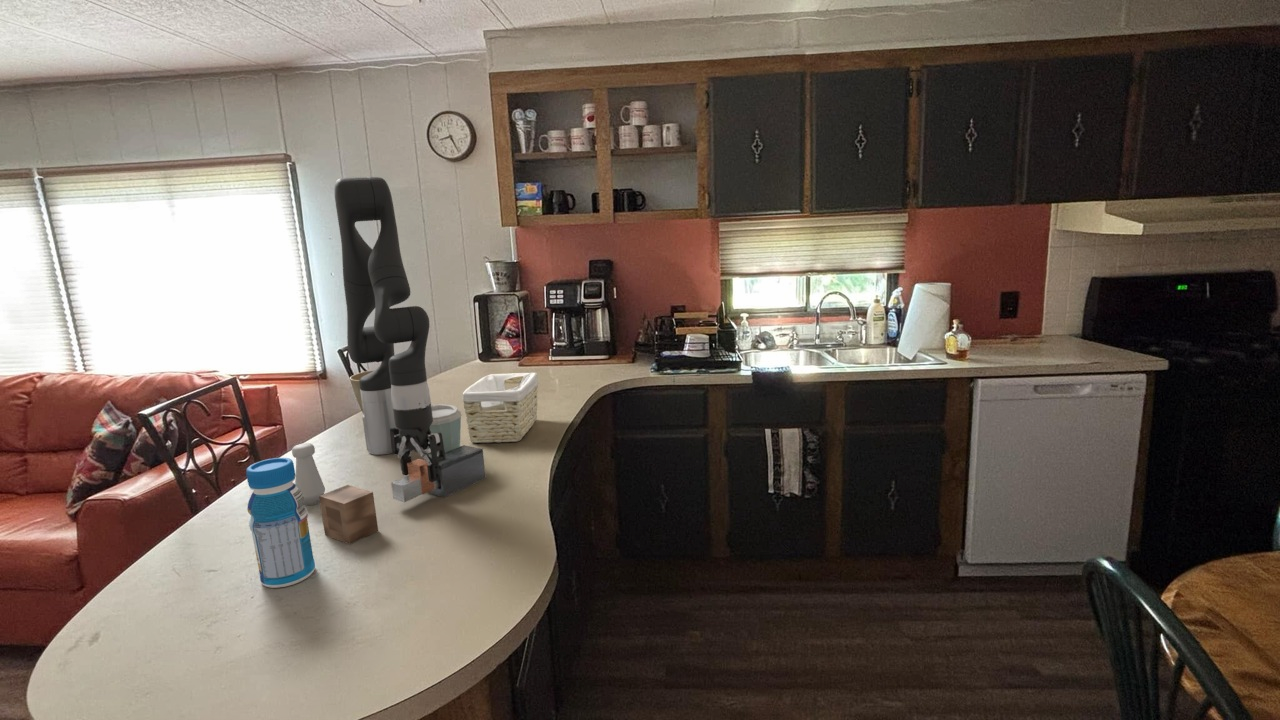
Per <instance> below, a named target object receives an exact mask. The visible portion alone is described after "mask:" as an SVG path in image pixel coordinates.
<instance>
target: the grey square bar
mask: <svg viewBox="0 0 1280 720" xmlns="http://www.w3.org/2000/svg"><path fill="white" fill-rule="evenodd" d="M427 465H428V464H427V462H426V461H425V459H422V458H417V459H415V460H414V459H413V460H412V462H409V463H407V466H408V473H409V475H406V476H405V477H402V478H400V479H397V480H395V481H393V482H391V483H390V485H391V493H392V499H393V500H395V501H398V502H402V503H406V502H409V501H411V500H413V499H416V498H417V497H419V496H422V495H425V494H429V493H428V492H430V491H432V490H434V489H436V488H438V487H440V486H441V482H440V477H439V480H437V481H434V482H430V481H429V477H428V469H427Z"/></svg>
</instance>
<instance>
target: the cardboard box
mask: <svg viewBox="0 0 1280 720" xmlns="http://www.w3.org/2000/svg"><path fill="white" fill-rule="evenodd" d="M319 500H320V502H319V503H320V504H319V506H320V512H321V518H322V524H323V530H324V535H325V536H327V537H330V538H332V539H335V540H336V541H337V540H338V541H341V542H343V543H346V544H348V545H352V544H353V543H356V542H358V541H360V540H362V539H364V538H367V537H368V536H371V535H373V534H375V533H377V532H378V531H379V525H378V518H377V512H376V511H377V510H376V503H375V498H374V492H373V491H370V490H368V489H363V488H360V487H356V486H353V485H350V484H347V485H344V486H341V487H338V488H336V489H333V490H331V491H329V492H326V493H325V492H324V494H323V495H320V496H319Z"/></svg>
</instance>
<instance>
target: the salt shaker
mask: <svg viewBox="0 0 1280 720" xmlns="http://www.w3.org/2000/svg"><path fill="white" fill-rule="evenodd" d="M291 453H292V454H291V455H292V457H294V458H296V459H295V480H294V481H295V483H294V484H295V485H296V486H297V487H298V488H299V489H300V490H301V492H302V493H303V495H304V502H303V505H304V506H305V507H306V506H314V505H316V504H319V503H320V500H319V496H320V495H323V494H325V492H326V487H325V484H324V482H323V479H322V477H321V475H320V472H319V470H318V468H317V465H316V462H315V459H314V457H313V455H314V454H315V453H316V447H315V445H314V444H312V443H309V442H305V443H299V444H297V445H294V446H293V447H292V449H291Z"/></svg>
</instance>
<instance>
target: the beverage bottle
mask: <svg viewBox="0 0 1280 720" xmlns="http://www.w3.org/2000/svg"><path fill="white" fill-rule="evenodd" d="M245 470H246V474H245V475H246V479H247V484H248V487H249V489H250V490H252V492H251V495H250V497H249V500H248V503H247V510H246V511H247V513H248V514H249V515H250V519H249V522H248V524H249V525H248V526H249V530H250V531H251V534H252V540H253V547H254V550H255V556H256V562H257V566H258V572H259V573H258V574H259V579H260V583H261V584H262V585H263V586H265V587H266V588H271V589H272V588H273V589H277V588H285V587H290V586H293V585H296V584H299V583H300V582H302V581H303V582H304V581H305V580H306V579H307V578H309V577H310V576H312V574H313V573H314V571H315V569H316V562H315V559H314V554H313V553H314V552H313V549H312V540H311V536H310V528H309V522H308V516H309V515H308V514H309V513H308V508H307V507H306V506H304V505H303V502H304V495H303V493H302V492H301V490H300V489H299V488H298V487H297V486H296V485H295V483H294V481H295V476H296V468H295V464H294V462H293V459H291V458H288V457H274V458H268V459H264V460H260V461H257V462H254V463H253V464H250V465H249V466H248V467H247V468H246V469H245Z"/></svg>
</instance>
